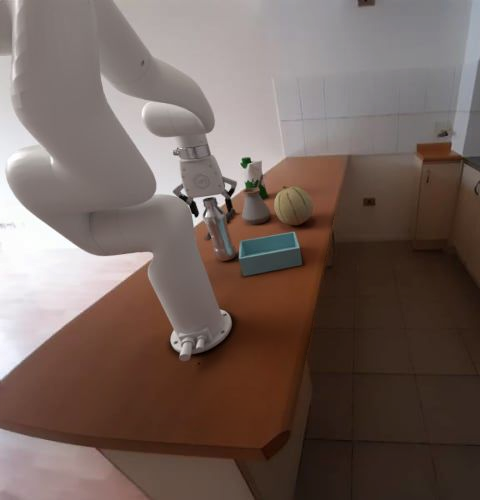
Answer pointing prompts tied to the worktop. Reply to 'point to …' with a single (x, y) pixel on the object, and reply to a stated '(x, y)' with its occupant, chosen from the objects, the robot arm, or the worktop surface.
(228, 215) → the knife
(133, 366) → the worktop surface
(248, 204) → the coffee pot
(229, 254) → the silver metal bottle
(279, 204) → the cantaloupe
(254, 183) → the milk carton
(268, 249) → the bin
